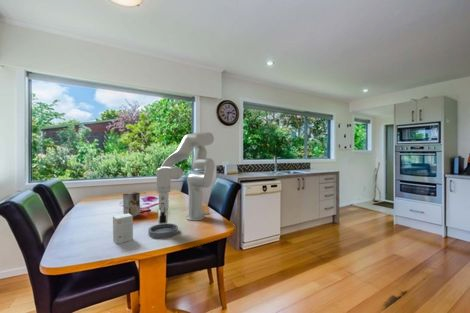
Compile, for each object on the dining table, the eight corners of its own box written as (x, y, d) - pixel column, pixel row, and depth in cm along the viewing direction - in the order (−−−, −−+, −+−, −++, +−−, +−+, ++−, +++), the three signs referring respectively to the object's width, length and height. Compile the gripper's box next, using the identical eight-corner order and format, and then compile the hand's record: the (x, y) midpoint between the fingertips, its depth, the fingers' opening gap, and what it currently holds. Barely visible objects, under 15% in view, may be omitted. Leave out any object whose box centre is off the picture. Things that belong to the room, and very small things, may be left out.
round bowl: (177, 227, 139) (177, 222, 139) (177, 237, 124) (178, 232, 124) (150, 229, 135) (150, 224, 135) (146, 239, 120) (146, 234, 120)
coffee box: (134, 213, 168) (134, 191, 167) (140, 214, 165) (140, 192, 164) (123, 216, 160) (122, 193, 159) (128, 217, 157) (128, 194, 156)
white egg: (167, 221, 132) (167, 209, 132) (167, 223, 127) (167, 211, 127) (158, 221, 131) (158, 209, 131) (158, 224, 126) (158, 211, 126)
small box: (129, 236, 124) (128, 212, 123) (133, 240, 119) (133, 215, 119) (112, 240, 118) (112, 215, 118) (116, 244, 114) (116, 218, 113)
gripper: (169, 191, 121) (169, 225, 122) (170, 186, 138) (170, 216, 138) (155, 192, 120) (154, 226, 120) (157, 187, 136) (157, 217, 136)
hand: (163, 220), depth 129 cm, fingers closed on white egg, 5 cm apart
